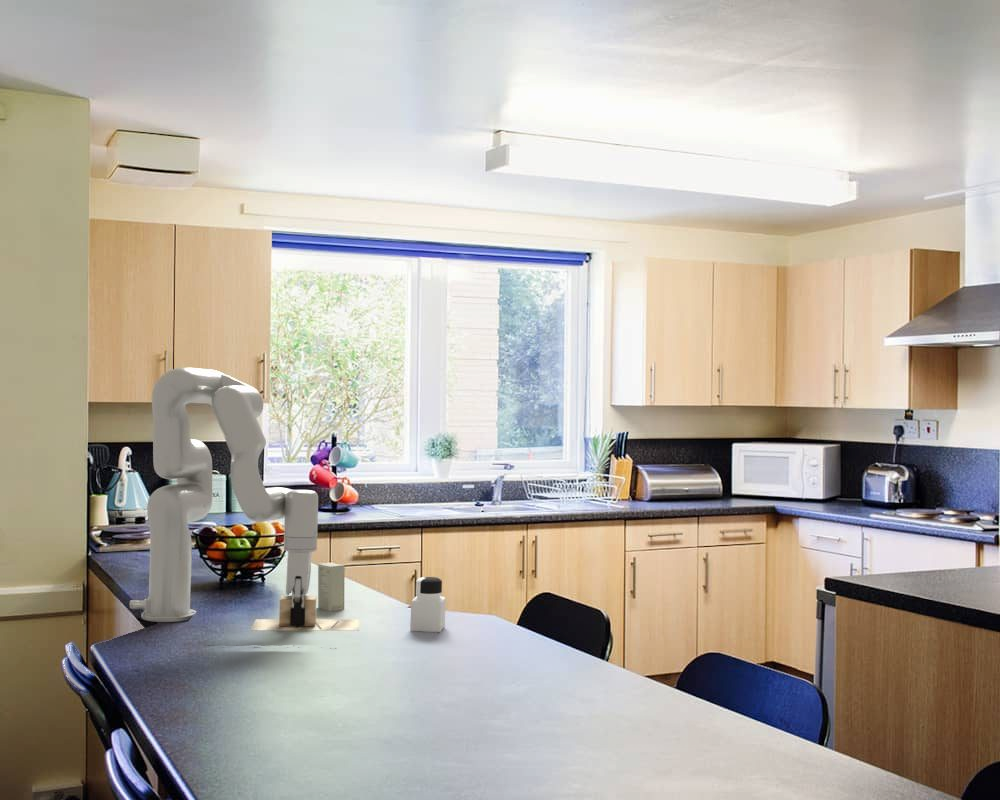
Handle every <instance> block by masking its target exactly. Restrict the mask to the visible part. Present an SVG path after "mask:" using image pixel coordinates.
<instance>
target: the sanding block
mask: <svg viewBox="0 0 1000 800" xmlns="http://www.w3.org/2000/svg"><path fill="white" fill-rule="evenodd" d="M300 598H302V597H300ZM291 608H292V595H281V596H280V598H279V613H278V614H279V618H278V619H279V626H291V625H290V616H291ZM304 608H305V625H304V626H315V623H316V619H317V595H306V596H305V597H304Z"/></svg>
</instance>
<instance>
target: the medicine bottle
mask: <svg viewBox="0 0 1000 800" xmlns="http://www.w3.org/2000/svg"><path fill="white" fill-rule="evenodd" d="M415 582H416V583H415V597H414V598H413V599H412V600H411V602H410V623H409V624H410V631H411V632H418V631H421V632H423V633H438V632H439V633H441V632H442V630H443V629H444V628H445V627H446V603H447V598H446V597H445V596H442V594H443V591H442V589H443V581H442V579H440V578H439V577H436V576H423V577H418V578H417V579H416V581H415Z"/></svg>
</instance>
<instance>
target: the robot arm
mask: <svg viewBox="0 0 1000 800" xmlns="http://www.w3.org/2000/svg"><path fill="white" fill-rule="evenodd" d="M188 404H207V405H210V406H211V408H212V411H213V413H214V416H215V418H216V421H217V423H218V426H219V427H220V430H221V432H222V435H223V437H224V439H225V442H226V445H227V447H228V450H229V452H230V455H231V460H230V482H231V487H232V490H233V493H234V495H235V497H236V500H237V503H238V506H239V507H240V509H241V511H242V513H243V514H244V515H245V516H246V517H247V518H248V519H249V520H250V521H252V522H255V523H263V522H264V523H265V522H269V521H275V520H281V519H282V520H283V519H284V522H283V523H284V526H283V527H284V529H283V551H285V552H287V562H286V582H285V583H286V585H285V595H286V596H290V594H291V596H292V608H291V616H290V625H291V626H304V625H305V608H304V597H305V596H307V594H308V593H309V589H310V582H311V571H312V570H311V569H312V552H316V551H318V525H319V524H318V523H319V522H318V521H319V496H318V493H317V492H316V491H315V490H312V489H311V490H310V489H291V488H287V487H280V486H274V487H273V486H272V487H265V485H264V482H263V479H262V478H261V477H262V476H261V475H260V469H259V459H260V456H261V453H262V452H263V450H264V449H265V446H266V445H267V444H266V443H267V440H266V437H265V435H264V433H263V430H262V428H261V426H260V424H259V420H258V418H259V417H260V416H261V414H262V413H263V410H264V399H263V397H262V394H261V393H260V392H259V391H258V390H257V389H256V388H255V387H253V386H251V385H249V384H248V383H245V382H242V381H240V380H238V379H236V378H234V377H231V376H230V375H227V374H225V373H223V372H221V371H218V370H216V369H209V368H199V367H188V366H187V367H177V368H176V367H175V368H173V369H170V370H168V371H166V372H164V373H163V374H162V375H161V376H159V378H158V379H157V380H156V382H155V383H154V386H153V389H152V393H151V408H152V420H153V421H152V422H153V425H152V426H153V427H152V431H153V432H152V443H153V444H152V447H153V448H152V449H153V450H152V455H153V456H152V458H153V459H152V461H153V469H154V472H155V473H156V475H158V476H159V477H160V478H162V479H165V480H176V482H177V483H176V484H168V485H163V486H161V487H159V488H156V490H154V491H153V492H152V493H151V494H150V495H149V498H148V500H147V506H146V510H147V518H148V520H147V521H148V525H149V535H150V536H149V541H150V542H149V570H148V571H149V572H148V574H149V578H148V579H149V580H148V597H147V598H144V599H143V600H138V599H135V600H134V599H132V600H129V609H132V610H143V612H141V616H140V617H141V619H142V620H144V621H147V622H152V623H153V622H157V623H173V622H175V623H177V622H184V621H189V620H191V619H192V617H193V616H194V615H195V614H196V613H197V610H195V609H193V608H191V585H192V584H191V581H192V580H191V579H192V555H193V554H192V549H193V548H192V547H193V546H192V545H193V543H192V542H193V541H192V536H191V532H190V528H189V525H188V523H193V522H198V521H201V520H203V519H204V518H205V517H207V515H208V514H209V512H210V511H211V508H212V505H213V459H212V454H211V452H210V450H209V449H210V448H208V446H207V445H206V444H205V443H204V442H203V441H200V440H199V439H194V438H191V419H190V416H189V413H188V410H187V408H186V405H188ZM300 597H302V598H300Z"/></svg>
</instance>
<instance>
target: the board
mask: <svg viewBox="0 0 1000 800" xmlns="http://www.w3.org/2000/svg"><path fill="white" fill-rule="evenodd" d="M254 620H255V621H254V622H253V624H252V627H251V629H250V631H360V619H358V618H357V619H356V618H355V619H354V618H353V619H349V618H347V619H346V618H345V619H344V618H343V619H341V618H340V619H335V618H334V619H332V618H331V619H330V618H329V619H323V618H321V619H320V618H319V619H318V618H316V623H315V626H279V618H278V619H265V618H264V619H263V618H262V619H258V618H257V619H254Z"/></svg>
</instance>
